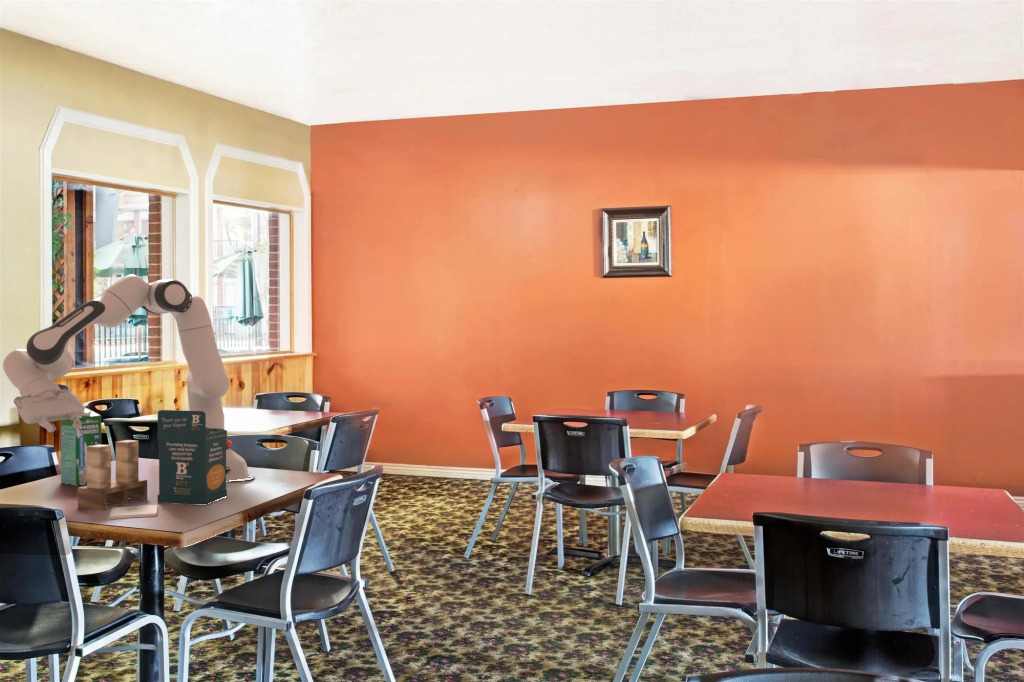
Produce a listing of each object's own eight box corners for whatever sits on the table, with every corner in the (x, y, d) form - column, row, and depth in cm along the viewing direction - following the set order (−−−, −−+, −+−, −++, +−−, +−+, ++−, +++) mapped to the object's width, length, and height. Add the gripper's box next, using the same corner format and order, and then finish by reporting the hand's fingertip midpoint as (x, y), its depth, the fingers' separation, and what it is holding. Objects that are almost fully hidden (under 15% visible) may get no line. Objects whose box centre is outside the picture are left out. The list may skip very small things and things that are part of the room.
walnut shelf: (124, 497, 274) (123, 477, 274) (147, 499, 271) (147, 479, 271) (77, 508, 257) (77, 487, 257) (102, 510, 254) (102, 489, 254)
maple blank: (99, 485, 261) (98, 444, 261) (111, 486, 260) (110, 445, 260) (87, 487, 257) (86, 446, 257) (99, 488, 255) (99, 447, 255)
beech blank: (126, 478, 272) (126, 440, 271) (138, 479, 270) (138, 440, 270) (115, 481, 267) (115, 441, 267) (127, 482, 266) (127, 442, 266)
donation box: (157, 502, 266) (157, 409, 265) (188, 492, 281) (188, 405, 281) (205, 505, 262) (205, 411, 261) (234, 495, 278) (234, 406, 277)
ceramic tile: (157, 507, 258) (157, 504, 258) (156, 516, 247) (156, 513, 247) (112, 510, 254) (112, 507, 254) (109, 519, 243) (109, 516, 243)
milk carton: (76, 486, 291) (76, 410, 291) (60, 483, 296) (60, 409, 295) (101, 482, 299) (101, 408, 298) (85, 479, 304) (85, 407, 303)
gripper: (16, 390, 255) (42, 425, 252) (73, 385, 274) (98, 418, 271) (5, 405, 256) (30, 440, 253) (62, 399, 276) (86, 432, 272)
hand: (66, 429), depth 262 cm, fingers open, 8 cm apart
